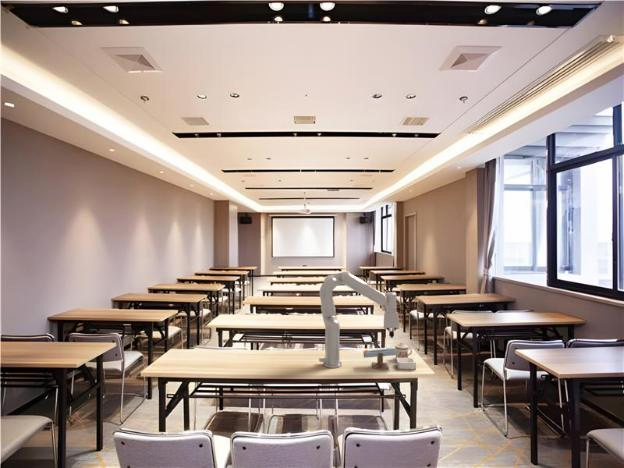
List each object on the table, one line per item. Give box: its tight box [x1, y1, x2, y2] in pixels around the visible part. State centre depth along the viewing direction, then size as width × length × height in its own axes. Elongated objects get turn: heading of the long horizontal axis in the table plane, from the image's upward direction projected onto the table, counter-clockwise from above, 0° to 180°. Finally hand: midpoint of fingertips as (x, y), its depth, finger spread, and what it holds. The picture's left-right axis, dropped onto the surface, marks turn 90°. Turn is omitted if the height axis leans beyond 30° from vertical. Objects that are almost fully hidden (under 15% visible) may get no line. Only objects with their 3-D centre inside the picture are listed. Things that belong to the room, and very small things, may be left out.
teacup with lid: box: [394, 341, 413, 359], centre depth 258 cm, size 12×9×12 cm
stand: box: [371, 354, 390, 370], centre depth 244 cm, size 10×11×10 cm
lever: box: [362, 347, 397, 359], centre depth 247 cm, size 22×13×3 cm, turn 84°
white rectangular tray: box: [395, 357, 417, 371], centre depth 242 cm, size 11×9×4 cm
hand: (391, 337), depth 249 cm, fingers closed
